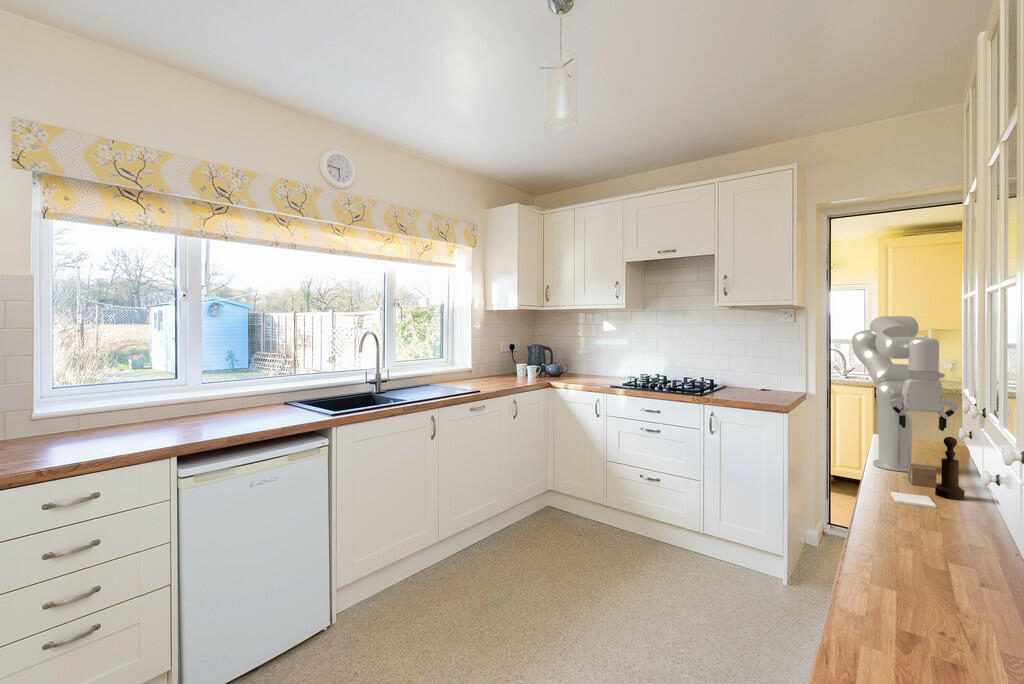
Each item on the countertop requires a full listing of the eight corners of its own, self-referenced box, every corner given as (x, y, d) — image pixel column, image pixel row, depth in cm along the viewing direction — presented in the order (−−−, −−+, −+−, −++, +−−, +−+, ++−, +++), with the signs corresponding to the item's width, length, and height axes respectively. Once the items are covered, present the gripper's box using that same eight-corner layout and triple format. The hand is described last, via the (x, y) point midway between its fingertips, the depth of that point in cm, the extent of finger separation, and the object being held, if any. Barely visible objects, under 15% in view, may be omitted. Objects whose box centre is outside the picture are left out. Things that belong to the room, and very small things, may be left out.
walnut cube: (908, 480, 162) (908, 462, 162) (931, 483, 159) (931, 465, 159) (912, 485, 157) (912, 467, 157) (936, 488, 154) (936, 469, 154)
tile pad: (890, 493, 149) (890, 491, 149) (928, 498, 144) (928, 496, 144) (896, 502, 141) (896, 500, 141) (936, 508, 137) (936, 506, 136)
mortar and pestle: (952, 493, 149) (953, 435, 149) (970, 500, 143) (971, 439, 142) (929, 492, 150) (930, 434, 149) (946, 499, 143) (947, 439, 143)
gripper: (955, 376, 156) (953, 429, 156) (887, 374, 164) (886, 423, 165) (962, 378, 149) (960, 433, 150) (891, 376, 158) (890, 428, 159)
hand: (921, 428), depth 157 cm, fingers open, 9 cm apart
